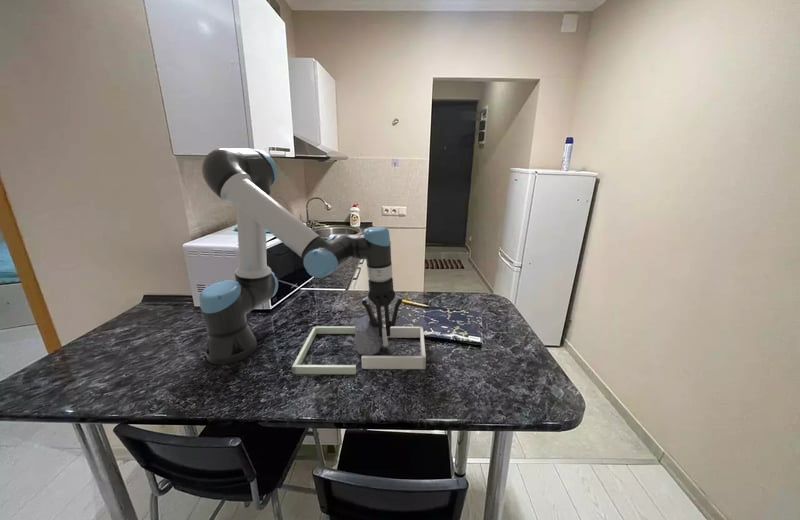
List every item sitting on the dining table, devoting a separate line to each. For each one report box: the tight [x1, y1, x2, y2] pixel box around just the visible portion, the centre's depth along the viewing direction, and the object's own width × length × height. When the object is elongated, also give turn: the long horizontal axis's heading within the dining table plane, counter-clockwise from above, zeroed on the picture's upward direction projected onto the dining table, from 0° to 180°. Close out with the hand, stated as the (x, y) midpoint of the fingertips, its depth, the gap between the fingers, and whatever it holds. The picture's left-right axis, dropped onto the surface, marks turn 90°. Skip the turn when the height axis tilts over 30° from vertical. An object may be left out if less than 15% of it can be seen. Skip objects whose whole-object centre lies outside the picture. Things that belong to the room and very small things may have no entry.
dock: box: [360, 325, 427, 370], centre depth 101 cm, size 20×18×4 cm
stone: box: [354, 313, 383, 356], centre depth 100 cm, size 12×10×10 cm
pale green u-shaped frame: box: [291, 325, 357, 375], centre depth 102 cm, size 19×23×2 cm
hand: (385, 344), depth 100 cm, fingers closed
